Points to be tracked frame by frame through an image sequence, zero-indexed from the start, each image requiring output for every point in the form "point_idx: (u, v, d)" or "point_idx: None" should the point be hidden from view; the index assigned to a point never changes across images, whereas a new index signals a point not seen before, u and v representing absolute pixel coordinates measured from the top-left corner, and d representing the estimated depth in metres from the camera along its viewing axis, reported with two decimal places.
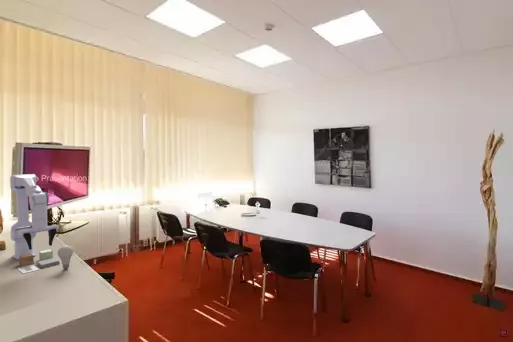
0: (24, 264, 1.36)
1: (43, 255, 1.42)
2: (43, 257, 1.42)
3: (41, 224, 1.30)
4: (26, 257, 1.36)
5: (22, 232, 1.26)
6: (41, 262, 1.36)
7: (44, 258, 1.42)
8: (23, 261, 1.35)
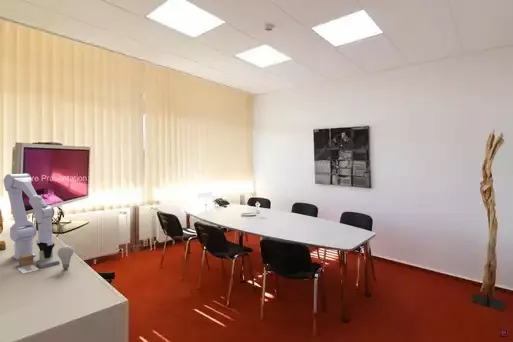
0: (24, 264, 1.36)
1: (43, 255, 1.42)
2: (43, 257, 1.42)
3: (38, 236, 1.42)
4: (26, 257, 1.36)
5: None
6: (41, 262, 1.36)
7: (44, 258, 1.42)
8: (23, 261, 1.35)
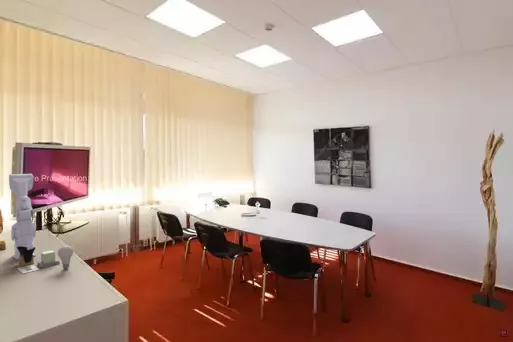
0: (24, 264, 1.36)
1: (45, 256, 1.35)
2: (45, 258, 1.35)
3: (18, 239, 1.35)
4: None
5: None
6: (41, 262, 1.36)
7: (46, 259, 1.35)
8: (23, 261, 1.35)
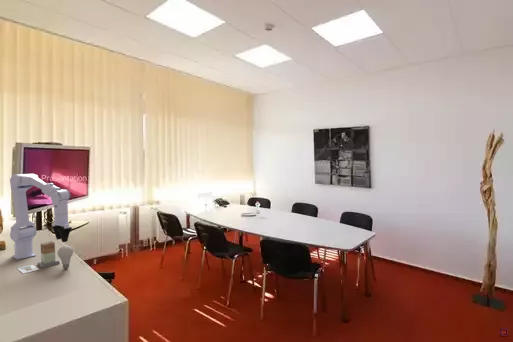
0: (46, 252, 1.35)
1: (45, 256, 1.35)
2: (45, 258, 1.35)
3: (54, 219, 1.39)
4: (48, 245, 1.36)
5: None
6: (41, 262, 1.36)
7: (46, 259, 1.35)
8: (45, 249, 1.35)
